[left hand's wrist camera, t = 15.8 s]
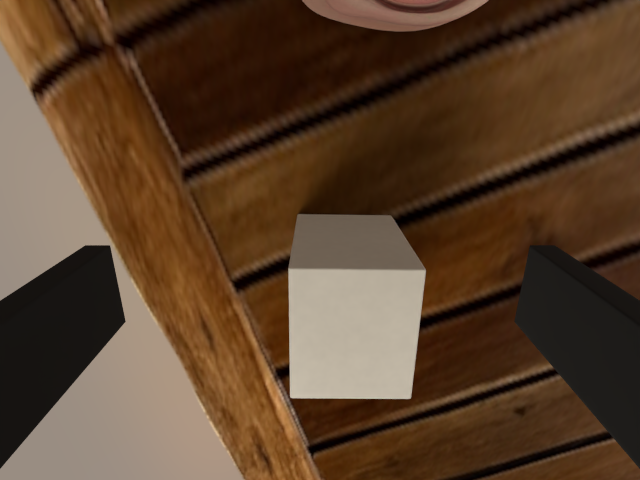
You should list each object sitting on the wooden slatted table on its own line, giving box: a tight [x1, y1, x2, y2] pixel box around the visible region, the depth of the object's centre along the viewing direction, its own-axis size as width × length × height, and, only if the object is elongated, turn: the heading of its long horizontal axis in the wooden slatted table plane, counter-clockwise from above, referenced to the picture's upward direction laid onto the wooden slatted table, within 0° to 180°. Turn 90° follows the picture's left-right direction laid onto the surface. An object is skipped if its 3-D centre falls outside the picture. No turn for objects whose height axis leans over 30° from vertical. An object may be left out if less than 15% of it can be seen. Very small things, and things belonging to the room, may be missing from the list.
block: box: [288, 214, 426, 399], centre depth 24 cm, size 8×6×9 cm
